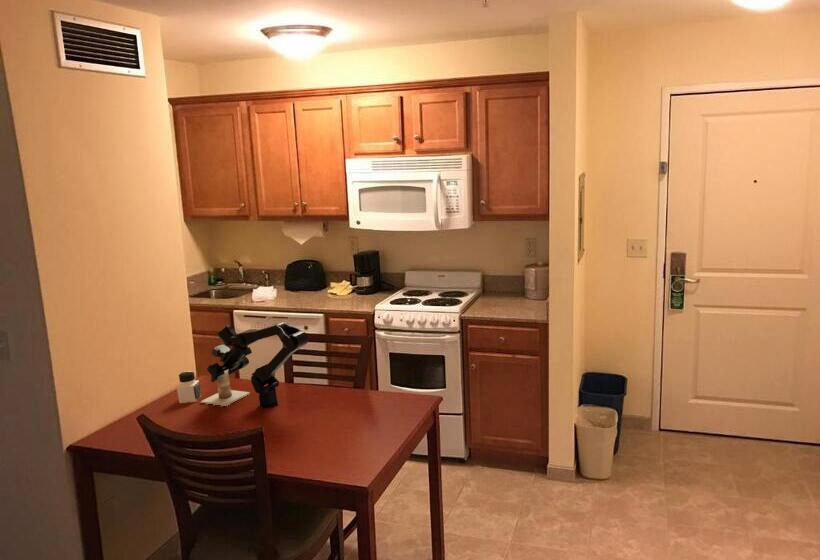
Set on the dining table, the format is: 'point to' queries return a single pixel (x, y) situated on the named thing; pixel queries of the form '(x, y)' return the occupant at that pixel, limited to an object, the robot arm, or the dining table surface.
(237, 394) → the white square tile
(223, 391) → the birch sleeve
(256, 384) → the robot arm
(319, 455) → the dining table surface
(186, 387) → the medicine bottle
